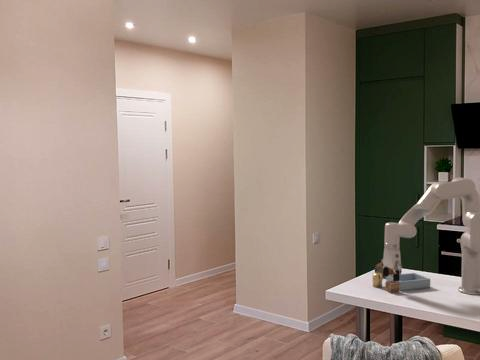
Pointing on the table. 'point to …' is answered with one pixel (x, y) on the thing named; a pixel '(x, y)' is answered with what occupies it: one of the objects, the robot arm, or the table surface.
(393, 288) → the walnut cube
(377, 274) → the brass cylinder
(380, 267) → the tin
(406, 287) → the tote
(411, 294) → the table surface
